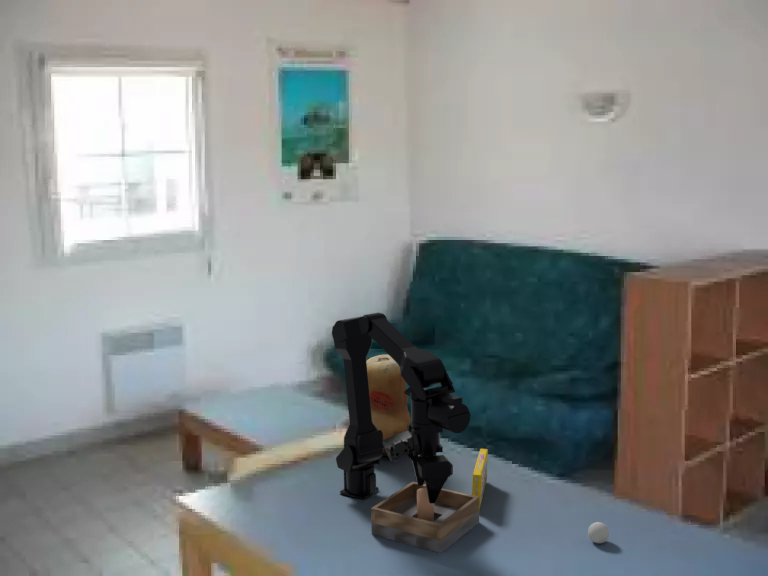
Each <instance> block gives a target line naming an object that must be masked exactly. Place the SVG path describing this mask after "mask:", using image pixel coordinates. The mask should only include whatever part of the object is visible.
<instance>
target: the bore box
mask: <svg viewBox="0 0 768 576" xmlns="http://www.w3.org/2000/svg"><path fill="white" fill-rule="evenodd" d="M420 488H426V483H424V484H423V485H422V486H419V485H418V484H417V481H411V482H410V483H408V484H406V485H405V486H404V487H402V488H400V489H399V490H397V491H395V492H394V493H393V494H390V495H389V496H388V497H386V498H385V499H383V500H381V501H380V502H378V503H377V504H376V505H374V506H372V507H370V516H371V517H370V524H371V535H374V536H377V537H381V538H385V539H389V540H392V541H396V542H399V543H402V544H403V543H404V544H407V545H410V546H413V547H418V548H420V549H421V548H422V549H424V550H428V551H432V552H436V553H439V554H442V553H443V552H445V550H447V549H448V548H450V546H452V545H453V544H454V543H455V542H457V541H458V540H459V539H460V538H462V537H463V536H464V535H465V534H466V533H468V532H469V531H471V529H473V528H474V527H475V526H476V525H478V524H479V523H480V510H479V497H477V496H473V495H472V494H468V493H464V492H459V491H455V490H451V489H446V488H443V487H442V489H441V491H440V493H439V495H438V497H437V500H436V502H435V503H434V522H430V521H426V520H422V519H419V518H417V490H418V489H420Z"/></svg>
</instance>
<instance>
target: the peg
mask: <svg viewBox="0 0 768 576" xmlns="http://www.w3.org/2000/svg"><path fill="white" fill-rule="evenodd" d="M417 518H419V519H422V520H426V521H430V522H434V503H429V499H428V494H427V488H420V489H418V490H417Z"/></svg>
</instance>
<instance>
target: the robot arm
mask: <svg viewBox="0 0 768 576" xmlns="http://www.w3.org/2000/svg"><path fill="white" fill-rule="evenodd" d="M331 329H332V330H331V336H332V339H333V343H334V349H335V350H336V352H337V353H338V354H339V356H340V357H341V358H342V360H343V367H344V368H343V370H344V378H345V379H344V380H345V390H346V397H347V398H346V399H347V408H348V419H349V420H348V421H349V425H348V426H347V429H346V432H345V434H344V436H343V448H342V450H341V451H340V452H339V454H338V455H337V456H336V458H335V461H336V465H337V468H338V469H340V470H342V471H343V489H341V490H340V491H339V494H340V495H344V496H347V497H352V498H357V499H360V500H364V499H366V498H368V497H370V496H372V495H373V494H376V492H378V491H380V489H379V487H378V486H377V474H376V472H375V466H378V465H380V464H381V461H382V455H383V448H385V450H386V453H387V455H388V456H387V457H388V459H389V460H390V462H396V461H398V460H400V459H402V458H404V457H408V458H409V459H410V460H411V465H412V467H413V472H414V475H415V478H416V479H415V480H416V482H417V484H418V485H419V486H422V485H423V484H426V488H427V494H428V499H429V503H435V502H436V500H437V497H438V495H439V493H440V491H441V489H442V488H443V487H444V485H445V483H446V482H447V481H448V479H449V478H450V477H451V476H452V475H453V474H454V464H453V463H452V462H451V460H449V458H447V457H446V456H445V455H444V454H439V455H437V453H443V451H444V449H443V445H442V444H441V433H443V429H444V430H446V431H448V432H451V433H454V434H460V433H462V432H464V431H465V430H466V429H467V427H468V426H469V424H470V422H471V412H470V409H469V407H468V406H467V405H466V404H465V403H463V397H461V396H458V395H457V396H456V395H452V394H454V393H456V390H455V387H454V383H453V381H452V379H451V378H450V376H449V374H448V372H447V369H446V366H445V365H444V362H443V361H442V360H441V359H440V358H439V357H438V356H436V355H435V354H433V353H431V352H430V351H427V350H424V349H422V348H421V349H420V348H419V347H417V346H415V345H414V344H413V343H412V342H411V340H409V339H408V338H407V337H406V336H404V334H403V333H401V332H400V330H398V329H397V328H396V327H395V326H394V325H393V324H392V323H391V322H390V321H389V320H388V319H387V316H386V315H385V314H384V313H381V312H374V313H373V312H372V313H367V314H363V315H362V316H357V317H352V318H345V319H339V320H336V322H335V323H334V325H333V326H332V328H331ZM373 341H374V342H375V343H376V344H378V346H379V347H380V348H381V349H382V350H383V351H384V352H385V353H386V355H389V356H390V357H391V358H392V359H393V360H394V361H395V362H397V364H398V365H399V366H400V373H401V376H402V377H403V379H404V380H405V381H406V385H407V386H408V387H407V388H406V390H405V391H404V394H406V395H408V397H410V418H411V422H409V424H408V425H407V431H404V432H401V433H398V434H396V435H394V436H392V437H389V438H387V439H385V440H384V441H383V433H382V431H381V430H378V429H377V428H376V427H375V425H374V424H373V422H372V414H371V404H370V393H369V383H368V373H367V362H366V361H367V356H368V355H369V352H370V350H371V348H372V345H373ZM438 385H439V386H438ZM435 386H437V387H435ZM429 387H432V388H429Z"/></svg>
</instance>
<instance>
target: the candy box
mask: <svg viewBox="0 0 768 576" xmlns="http://www.w3.org/2000/svg"><path fill="white" fill-rule="evenodd" d="M488 452H489V449H487V448H480V449H479V452H478V456H477V459H476V463H475V467H474V470H473V473H472V484H471V485H472V488H471V495H473V496H477V497H479V511H480V509H481V505H482V502H483V496H484V494H485V488H486V484H487V481H488V460H489V458H488V457H489V456H488V455H489V453H488Z"/></svg>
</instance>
